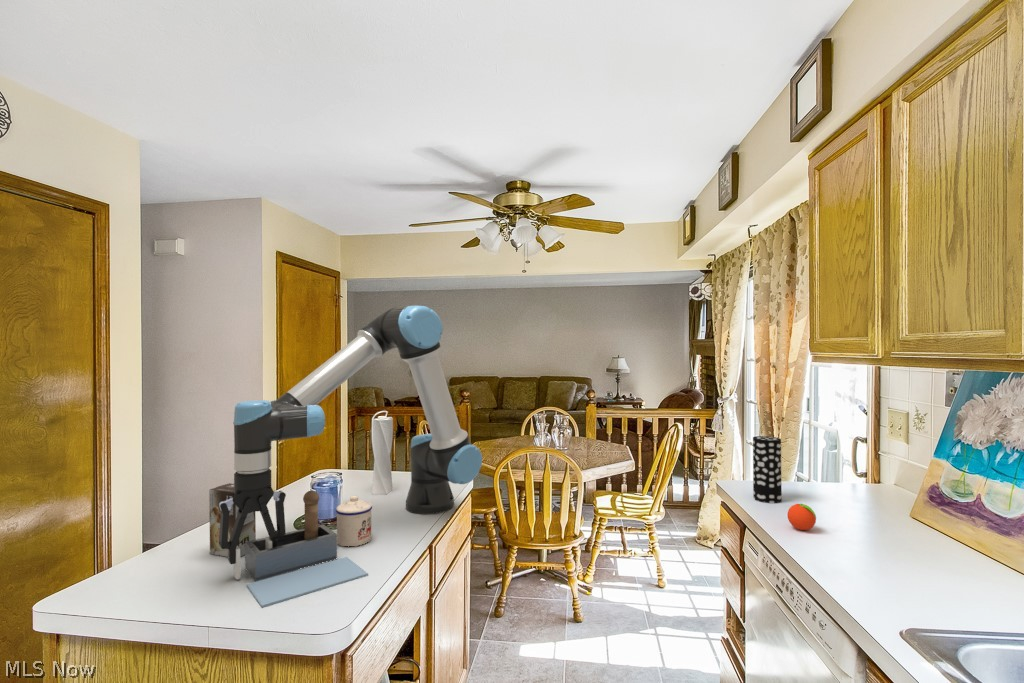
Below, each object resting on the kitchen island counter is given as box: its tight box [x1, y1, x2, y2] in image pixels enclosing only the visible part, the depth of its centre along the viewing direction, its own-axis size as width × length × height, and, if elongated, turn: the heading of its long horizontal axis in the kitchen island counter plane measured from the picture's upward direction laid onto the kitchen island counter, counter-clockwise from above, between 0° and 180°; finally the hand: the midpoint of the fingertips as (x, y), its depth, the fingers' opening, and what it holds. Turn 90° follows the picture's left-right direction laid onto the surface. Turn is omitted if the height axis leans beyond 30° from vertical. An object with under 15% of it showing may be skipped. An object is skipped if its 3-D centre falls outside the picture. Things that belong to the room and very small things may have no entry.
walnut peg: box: [302, 489, 320, 540], centre depth 125 cm, size 4×4×16 cm
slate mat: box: [246, 556, 369, 609], centre depth 113 cm, size 22×12×1 cm, turn 130°
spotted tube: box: [752, 435, 783, 504], centre depth 171 cm, size 8×8×20 cm
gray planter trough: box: [244, 524, 338, 582], centre depth 122 cm, size 18×9×6 cm, turn 130°
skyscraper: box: [371, 410, 394, 496], centre depth 181 cm, size 8×8×28 cm
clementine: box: [786, 503, 817, 531], centre depth 142 cm, size 8×7×7 cm
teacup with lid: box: [335, 495, 373, 548], centre depth 138 cm, size 12×9×12 cm
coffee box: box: [208, 483, 257, 558], centre depth 130 cm, size 9×6×16 cm
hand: (253, 572), depth 117 cm, fingers open, 6 cm apart
